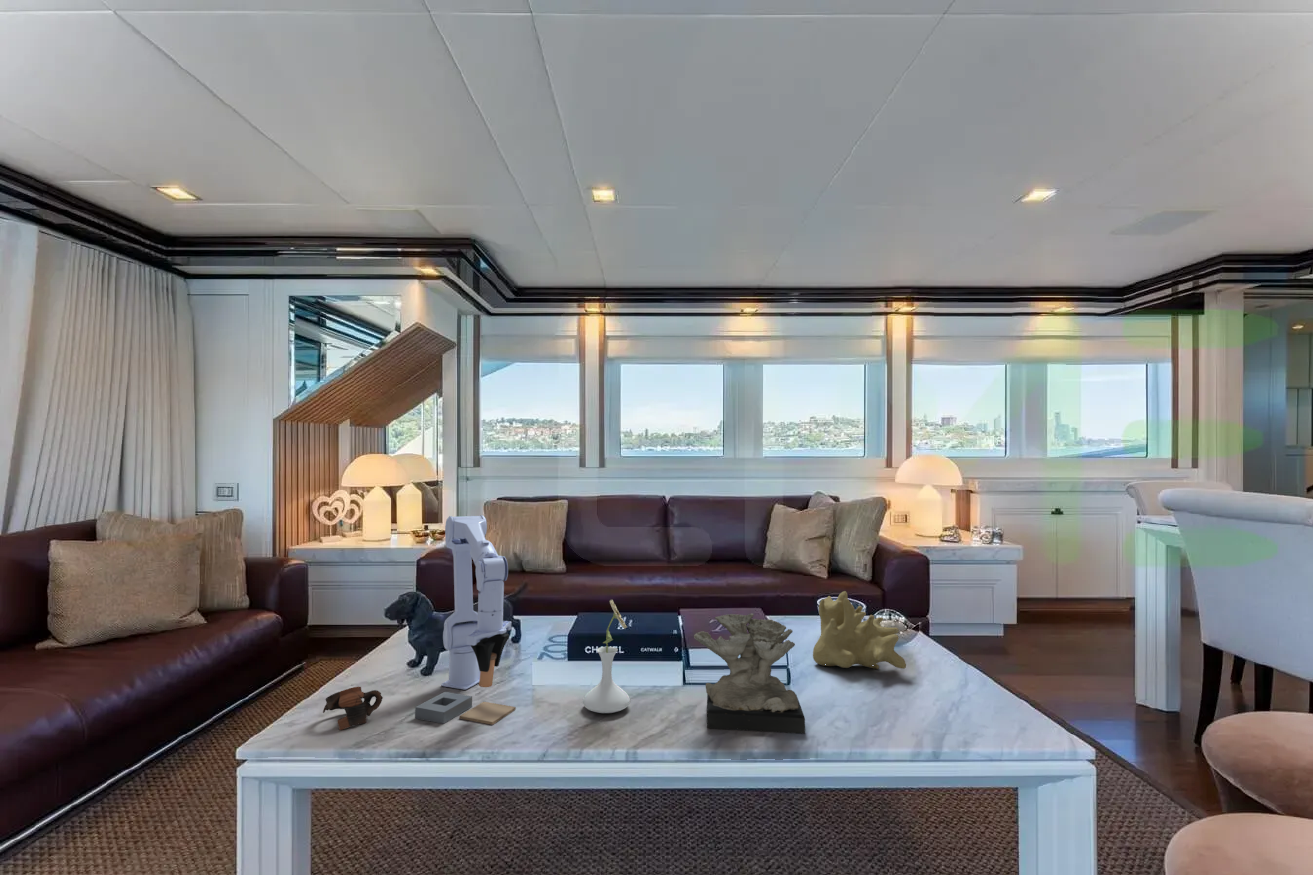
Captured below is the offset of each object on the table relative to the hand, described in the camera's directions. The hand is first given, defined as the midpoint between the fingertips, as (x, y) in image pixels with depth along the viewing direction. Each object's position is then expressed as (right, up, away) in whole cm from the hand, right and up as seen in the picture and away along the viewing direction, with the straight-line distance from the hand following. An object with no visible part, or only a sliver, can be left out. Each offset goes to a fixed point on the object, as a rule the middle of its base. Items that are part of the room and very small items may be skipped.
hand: (489, 668), depth 138 cm
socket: (-10, -10, 0) cm, 15 cm away
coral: (+60, -12, +2) cm, 62 cm away
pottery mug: (-29, -10, -5) cm, 32 cm away
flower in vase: (+27, -11, +4) cm, 30 cm away
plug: (-1, -4, 0) cm, 4 cm away
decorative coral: (+98, -14, +35) cm, 105 cm away
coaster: (0, -10, -1) cm, 10 cm away
